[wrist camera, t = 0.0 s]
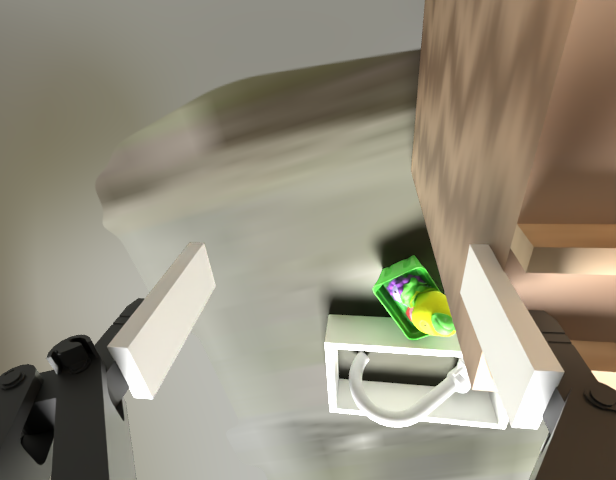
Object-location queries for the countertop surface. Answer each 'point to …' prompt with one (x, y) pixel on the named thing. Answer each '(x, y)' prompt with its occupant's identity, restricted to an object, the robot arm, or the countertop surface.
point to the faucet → (415, 413)
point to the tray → (398, 397)
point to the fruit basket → (414, 300)
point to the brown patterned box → (523, 161)
